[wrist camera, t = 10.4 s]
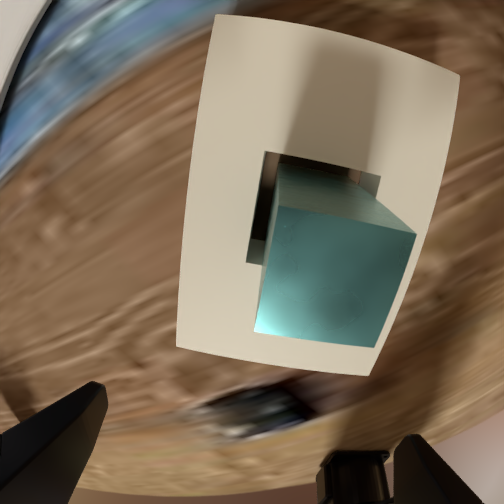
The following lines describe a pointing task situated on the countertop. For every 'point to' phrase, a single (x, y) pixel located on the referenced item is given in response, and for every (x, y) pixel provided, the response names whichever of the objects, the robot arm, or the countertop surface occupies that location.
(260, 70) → the beige square hole board
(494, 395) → the countertop surface
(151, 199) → the countertop surface
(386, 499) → the robot arm
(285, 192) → the teal rectangular block
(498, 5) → the countertop surface
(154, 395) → the countertop surface
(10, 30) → the salad plate
